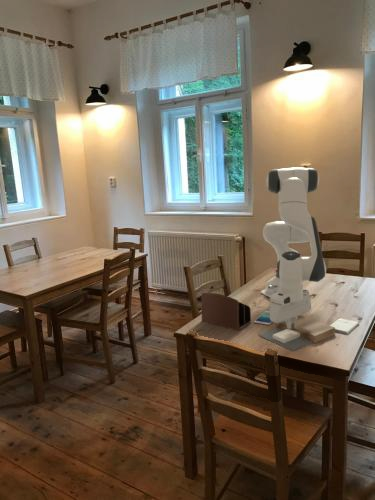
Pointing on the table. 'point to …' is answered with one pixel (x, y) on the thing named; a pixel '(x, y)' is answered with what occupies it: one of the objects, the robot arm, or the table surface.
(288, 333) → the cream flat block
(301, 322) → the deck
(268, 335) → the mat
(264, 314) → the smartphone
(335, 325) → the external hard drive
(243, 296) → the table surface
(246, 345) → the table surface
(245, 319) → the letter holder
